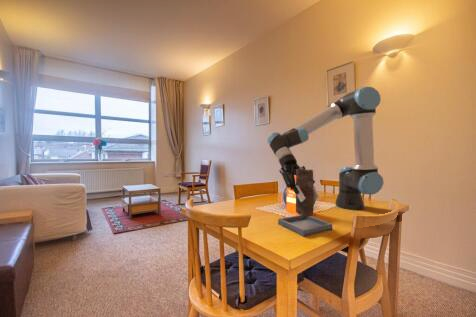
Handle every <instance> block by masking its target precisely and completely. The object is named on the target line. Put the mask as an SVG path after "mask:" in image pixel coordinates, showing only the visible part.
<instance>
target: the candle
mask: <svg viewBox="0 0 476 317" xmlns="http://www.w3.org/2000/svg"><path fill="white" fill-rule="evenodd" d="M295 176H296V186H297V185H298V186H299V188H300V190H301V191H302V193H303V195H304V196H305V200H304V201H303V202H300V200H299V198H298V196H297V195H296V213H298V214H299V215H301V216H303V217H309V216H312V217H313V215H314V198H313V186H314V184H313V180H314V170H313V169H306V170H304V169H303V170H302V169H296V175H295Z"/></svg>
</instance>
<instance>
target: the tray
mask: <svg viewBox="0 0 476 317" xmlns="http://www.w3.org/2000/svg"><path fill="white" fill-rule="evenodd" d="M277 225H279V226H281V227H283V228H285V229H287V230H288V231H291V232H293V233H295V234H297V235H299V236H301V237H309V236H312V235H317V234H321V233H325V232H330V231H333V224H332V223H331V222H328V221H325V220H323V219H319V218H317V217H314V216H313V215H312V216H309V217H303V216H301V215H292V216H286V217H279V218H278V219H277Z"/></svg>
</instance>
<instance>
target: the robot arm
mask: <svg viewBox="0 0 476 317" xmlns="http://www.w3.org/2000/svg"><path fill="white" fill-rule="evenodd" d="M381 100H382V98H381V94H380V92H379V91H378V90H377V89H376V88H374V87H373V86H363V87H359V88H357V89H355V90H353V91H351V92H348V93H347V94H345V95H343V96H342V97H340V98H339V99H337V100H336V101H334V102H333V103H331V104H330V106H329V107H328V108H326V109H324V110H322V111H320V112H319V113H317V114H316V115H313V116H312V117H311V118H309V119H307V120H305V121H303V122H301V123H300V124H298V125H296V126H294V127H292V128H291V129H289V130H287V131H285V132H283V133H279V132H276V131H275V132H272V133H271V134H269V136H268V137H267V143H268V145H269V147H270V149H271V150H272V152H273V153H274V156H275V157H276V159H277V160H278V163H279V165H280V169H279V170H278V171H279V173H280V174H281V176H282V179H283V181H284V183H285V185H286V189H287V188H289V187H290V189H291V190H293V191H294V192H295V194H296V195H297V196H298V198H299V200H300V202H303V201H304V200H305V196H304V195H303V193H302V191H301V190H300V188H299V186H298V185H297V186H296V182H295V177H294V176H296V169H302V170H303V169H304V170H307V169H306V166H305V165H302V166H300V165H299V164H298V163H297V162H298V160H297V159H296V157H295V156H294V155H293V152H292V150H291V149H290V148H292V147H295V146H298V145H300V144H304V143H306V142H307V141H308V140H309V138H310V137H309V135H310V134H312V133H314V132H315V131H317V130H319V129H321V128H322V127H325V126H326V125H328V124H330V123H331V122H334V121H335V120H337V119H338V120H341V119H342V118H344V117H347V116H349V117H350V118H351V119H352V120H353V122H352V123H353V140H354V141H353V143H354V145H353V146H354V166H344V167H340V168H339V170H338V171H339V172H338V175H339V176H338V177H339V178H338V182H339V183H338V194H337V197H336V199H335V207H336V206H337V207H338V208H341V209H346V210H363V209H364V208H365V202H364V198H363V196H362V194H364V195H370V196H371V195H375V194H377V193H379V192H380V191H381V190H382V188H383V187H384V178H383V176H382V175H381V174H380V173H379V171H378V170H379V168H378V166H377V165H375V156H374V155H375V154H374V152H375V150H374V149H375V148H374V133H373V132H374V127H373V126H374V125H373V117H374V116H375V115H376V113H377V111H376V109H377V107H378V106H379V105H380V104H381ZM315 183H316V181H315V180H314V179H313V201H317V200H318V199H319V198H320V194H319V193H318V191H317V189H316V188H315V186H314V184H315Z"/></svg>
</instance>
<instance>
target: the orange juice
mask: <svg viewBox="0 0 476 317" xmlns="http://www.w3.org/2000/svg"><path fill="white" fill-rule="evenodd" d="M294 177H295V182H296V175H294ZM287 212H288V213H287ZM286 213H287V214H290V213H291V215H293V214H295V215H294V216H296V215H299V214H298V213H296V194H295V192H294V191H293V190H291V189H290V187H289V188H287V187H286Z"/></svg>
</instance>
